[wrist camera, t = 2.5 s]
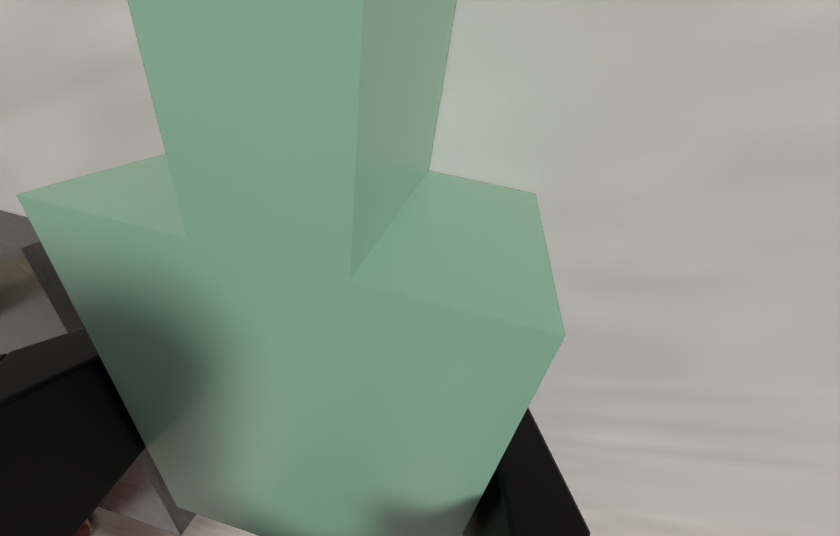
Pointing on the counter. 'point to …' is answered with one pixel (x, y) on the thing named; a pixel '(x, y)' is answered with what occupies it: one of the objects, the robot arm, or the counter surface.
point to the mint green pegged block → (307, 273)
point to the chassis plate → (56, 315)
